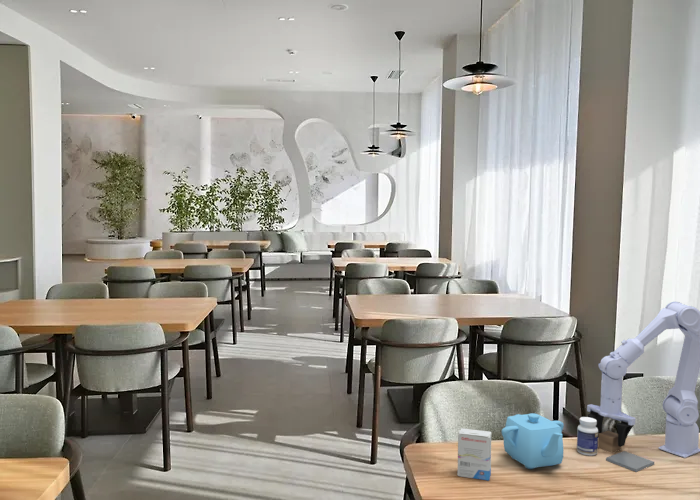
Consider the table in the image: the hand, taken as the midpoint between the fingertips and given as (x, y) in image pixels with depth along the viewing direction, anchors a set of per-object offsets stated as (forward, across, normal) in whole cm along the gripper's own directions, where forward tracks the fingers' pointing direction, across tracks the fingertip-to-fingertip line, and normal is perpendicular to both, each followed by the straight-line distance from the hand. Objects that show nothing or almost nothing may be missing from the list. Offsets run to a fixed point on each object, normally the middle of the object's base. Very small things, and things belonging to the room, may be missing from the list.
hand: (609, 441), depth 177 cm
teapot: (+3, -5, -27) cm, 27 cm away
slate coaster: (+2, +9, -4) cm, 10 cm away
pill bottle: (+2, -2, -8) cm, 9 cm away
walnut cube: (+2, 0, 0) cm, 2 cm away
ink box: (+3, -9, -47) cm, 48 cm away
